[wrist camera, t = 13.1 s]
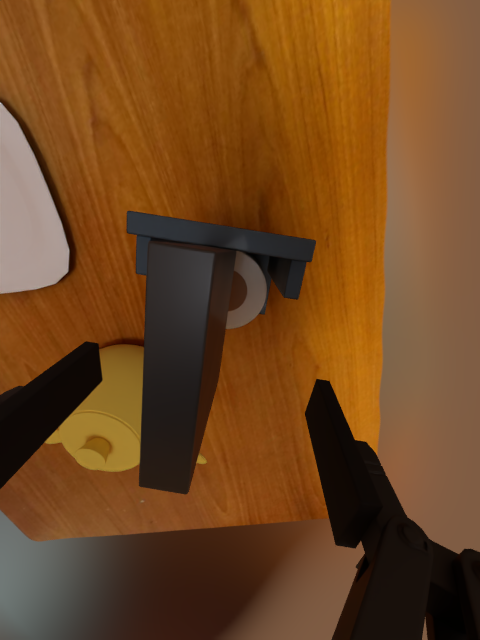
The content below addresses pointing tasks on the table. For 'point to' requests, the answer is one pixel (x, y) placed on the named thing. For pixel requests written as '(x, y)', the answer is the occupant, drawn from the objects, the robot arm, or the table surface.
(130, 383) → the teapot
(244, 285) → the paper roll
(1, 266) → the plate
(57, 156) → the table surface
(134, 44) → the table surface
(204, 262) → the cradle
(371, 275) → the table surface
